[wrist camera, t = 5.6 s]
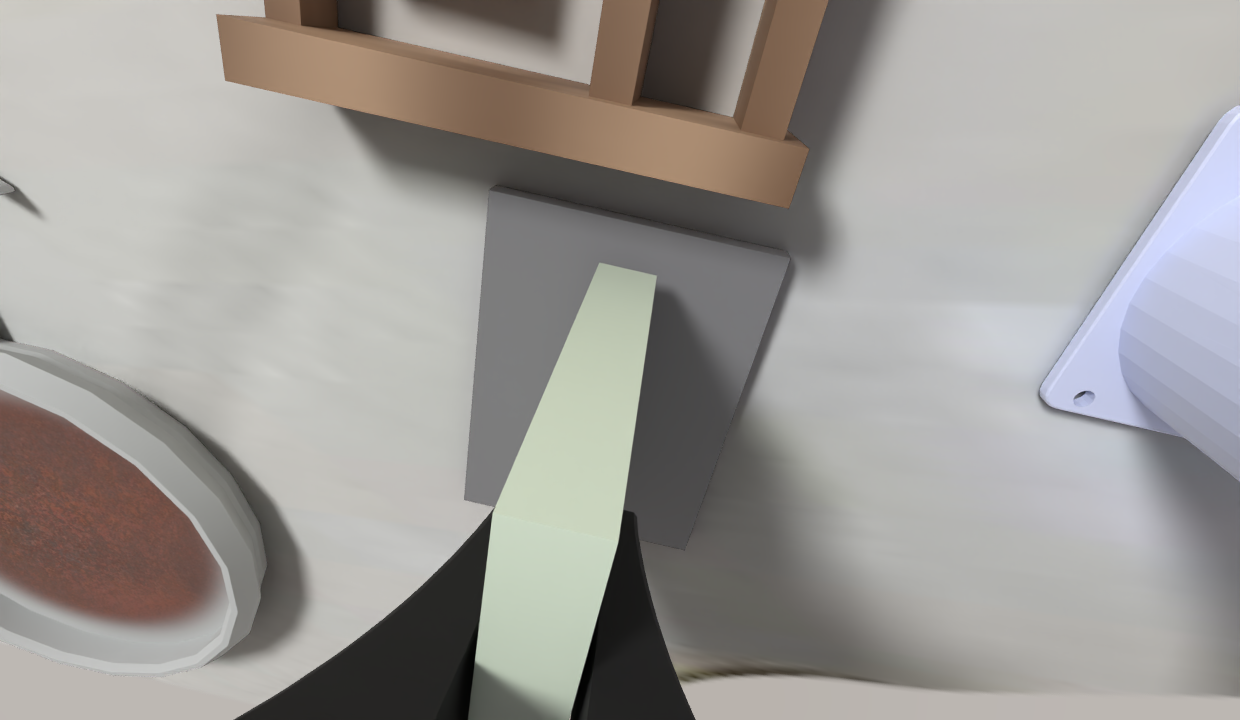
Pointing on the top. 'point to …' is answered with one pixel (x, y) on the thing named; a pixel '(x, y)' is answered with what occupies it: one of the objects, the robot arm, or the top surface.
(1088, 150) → the top surface
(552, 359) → the mat
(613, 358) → the board
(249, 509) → the frying pan
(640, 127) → the rack
